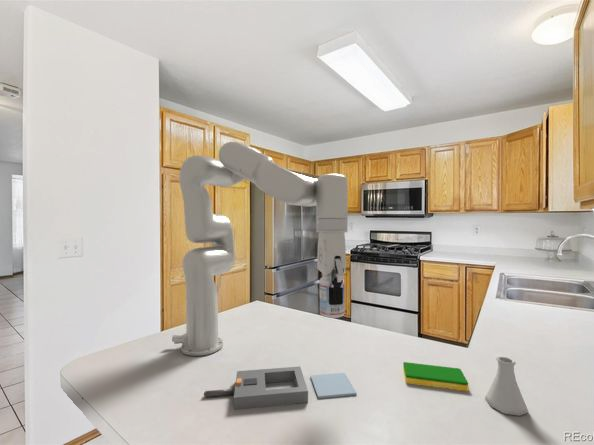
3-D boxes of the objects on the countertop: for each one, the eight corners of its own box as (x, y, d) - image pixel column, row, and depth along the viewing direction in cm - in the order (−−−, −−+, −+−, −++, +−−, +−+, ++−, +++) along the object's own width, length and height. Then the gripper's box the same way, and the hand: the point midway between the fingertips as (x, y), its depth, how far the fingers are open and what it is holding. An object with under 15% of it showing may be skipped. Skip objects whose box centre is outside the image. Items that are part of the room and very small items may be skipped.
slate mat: (318, 398, 65) (318, 396, 65) (310, 377, 74) (310, 375, 74) (356, 394, 67) (356, 392, 67) (344, 374, 76) (344, 372, 76)
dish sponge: (403, 370, 79) (403, 361, 79) (460, 377, 75) (460, 368, 75) (405, 384, 72) (405, 375, 72) (468, 393, 68) (468, 383, 68)
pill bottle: (346, 312, 72) (346, 267, 72) (342, 320, 67) (342, 271, 67) (322, 309, 74) (322, 265, 74) (316, 317, 69) (316, 269, 69)
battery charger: (199, 412, 61) (199, 397, 61) (207, 383, 72) (207, 370, 72) (308, 402, 64) (308, 388, 64) (300, 376, 75) (300, 364, 75)
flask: (478, 396, 66) (478, 352, 66) (507, 395, 67) (507, 351, 67) (503, 418, 59) (503, 368, 59) (536, 416, 59) (536, 367, 59)
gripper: (309, 225, 78) (309, 292, 78) (325, 226, 61) (325, 312, 61) (336, 225, 79) (336, 291, 80) (359, 226, 62) (359, 310, 62)
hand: (331, 299), depth 70 cm, fingers closed on pill bottle, 6 cm apart
